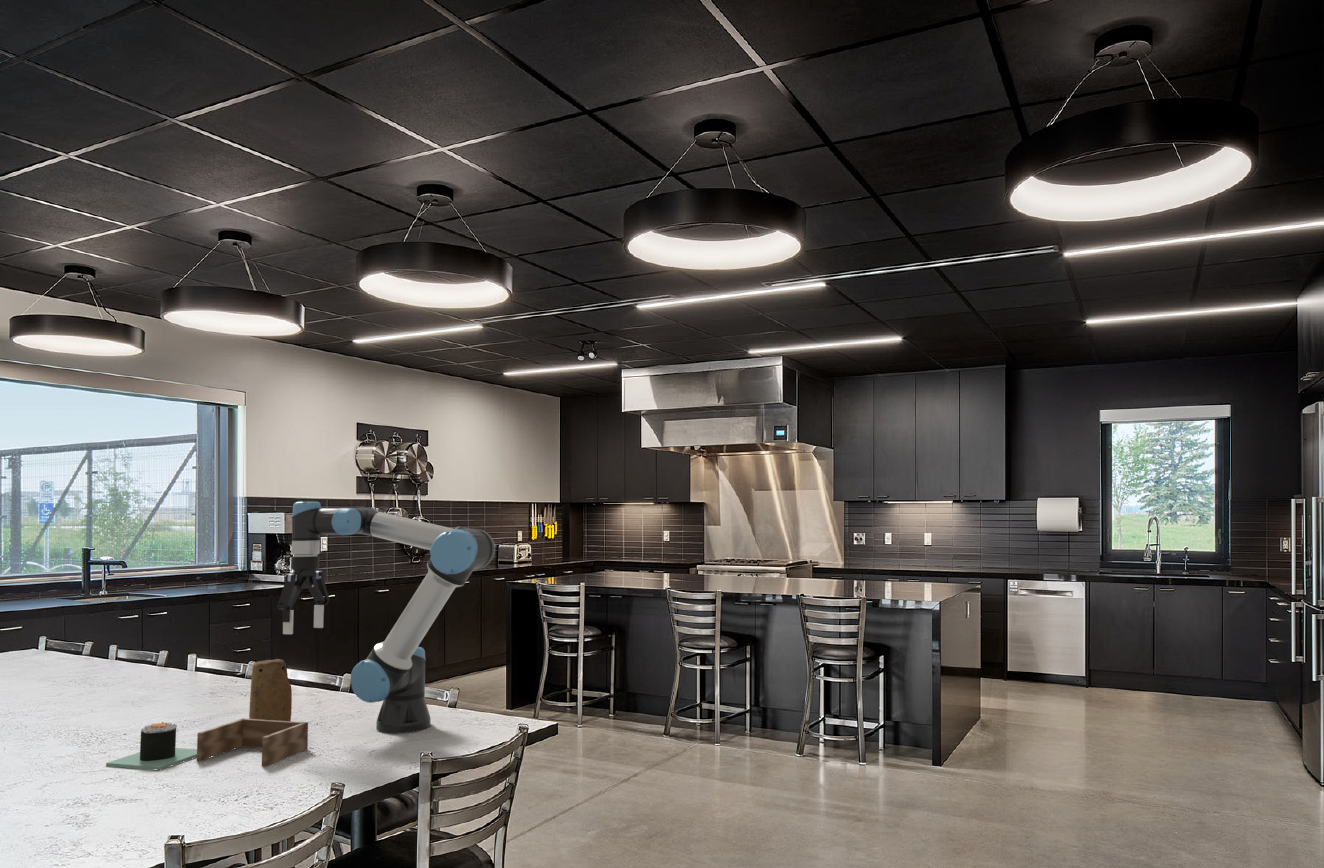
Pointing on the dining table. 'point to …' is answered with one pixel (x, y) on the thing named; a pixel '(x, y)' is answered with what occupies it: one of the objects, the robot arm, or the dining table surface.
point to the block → (270, 691)
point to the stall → (255, 738)
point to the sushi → (158, 741)
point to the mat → (136, 763)
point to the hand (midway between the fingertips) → (303, 631)
